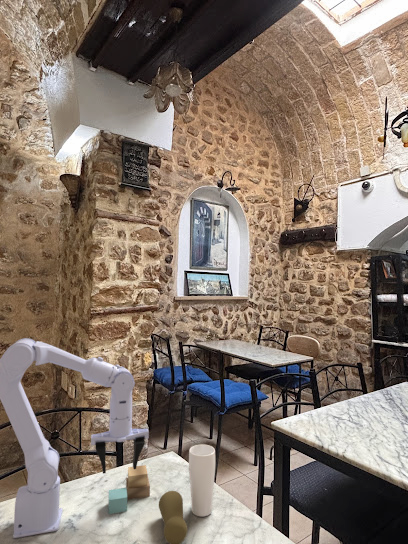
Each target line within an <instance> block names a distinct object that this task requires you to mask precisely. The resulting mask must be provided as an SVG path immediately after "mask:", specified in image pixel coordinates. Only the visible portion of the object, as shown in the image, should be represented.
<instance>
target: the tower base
mask: <svg viewBox="0 0 408 544" xmlns="http://www.w3.org/2000/svg"><path fill="white" fill-rule="evenodd" d="M125 479H126V481H125V486H126V487H125V488H126V489H127V501H129V500H134V499H141V498H147V497H148V498H149V497H150V496H151V484H150V480H149V479H150V478H149V476H148V475H147V485H146V486H139V487H132V488H129V485H128V477H126V478H125Z"/></svg>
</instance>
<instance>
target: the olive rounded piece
mask: <svg viewBox="0 0 408 544" xmlns="http://www.w3.org/2000/svg"><path fill="white" fill-rule="evenodd" d="M183 501H184V499H183V497H182V495H181V493H180V492H178V491H175V490H169V491H166V492H165V493H164V494H162V495H161V496H160V498H159V501H158V508H159V511H160V514H161V517H162V520H163V523H164V527H163V536H164V539H165V540H166V542H167V544H182V543H183V542H184V541H185V539H186V537H187V535H188V526H187V523H186V521H185V520H184V502H183Z"/></svg>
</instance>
